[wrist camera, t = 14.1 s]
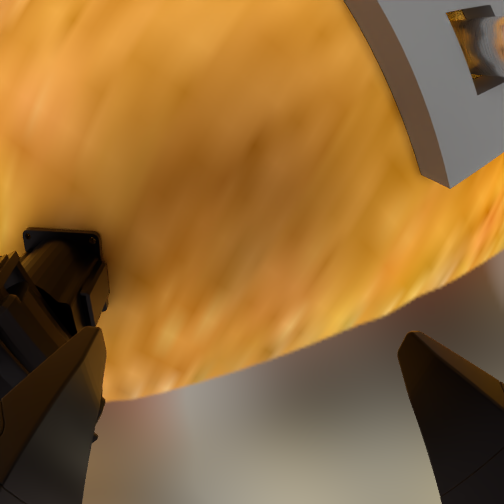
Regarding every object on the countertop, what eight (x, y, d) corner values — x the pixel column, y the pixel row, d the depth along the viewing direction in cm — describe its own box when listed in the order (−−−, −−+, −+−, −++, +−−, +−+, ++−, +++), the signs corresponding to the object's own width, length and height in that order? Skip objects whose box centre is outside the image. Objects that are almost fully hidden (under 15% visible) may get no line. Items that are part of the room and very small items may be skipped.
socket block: (421, 174, 20) (450, 188, 17) (326, -26, 13) (347, -44, 10) (524, 110, 18) (550, 117, 15) (465, -43, 11) (490, -50, 8)
